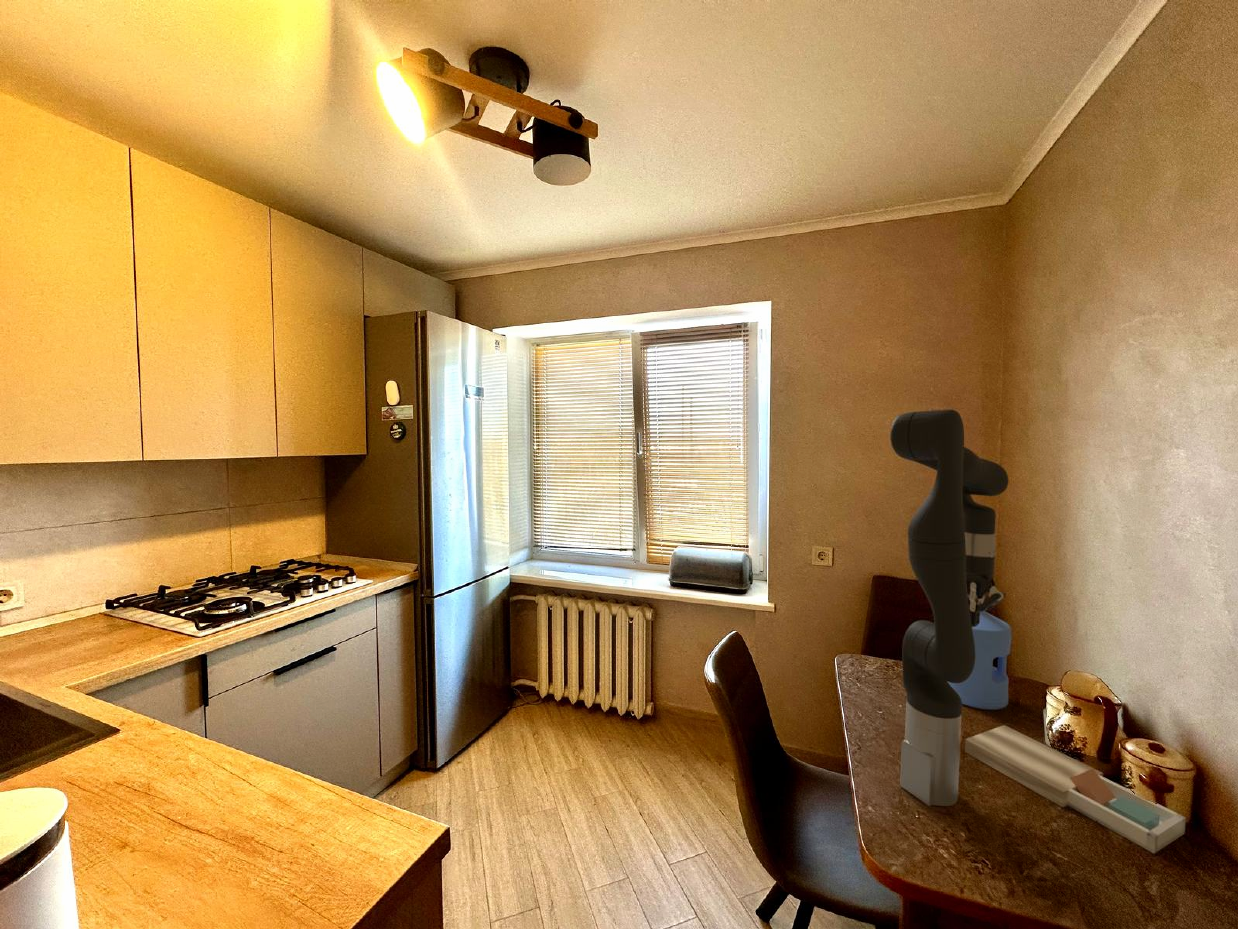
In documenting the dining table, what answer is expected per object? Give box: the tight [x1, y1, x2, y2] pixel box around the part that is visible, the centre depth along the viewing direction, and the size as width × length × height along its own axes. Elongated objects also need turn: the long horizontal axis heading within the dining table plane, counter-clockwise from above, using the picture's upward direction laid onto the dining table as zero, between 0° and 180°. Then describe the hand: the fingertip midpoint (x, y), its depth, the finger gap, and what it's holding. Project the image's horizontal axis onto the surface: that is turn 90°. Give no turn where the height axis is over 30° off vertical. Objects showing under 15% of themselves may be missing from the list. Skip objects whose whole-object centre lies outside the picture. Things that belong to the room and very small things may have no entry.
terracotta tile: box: [1069, 767, 1116, 805], centre depth 95 cm, size 5×5×2 cm
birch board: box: [964, 724, 1104, 808], centre depth 105 cm, size 14×18×3 cm
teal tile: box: [1108, 797, 1160, 830], centre depth 91 cm, size 5×5×2 cm
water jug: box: [947, 611, 1012, 711], centre depth 135 cm, size 16×16×28 cm
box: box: [1067, 775, 1187, 854], centre depth 92 cm, size 11×12×3 cm
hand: (970, 625), depth 114 cm, fingers closed
